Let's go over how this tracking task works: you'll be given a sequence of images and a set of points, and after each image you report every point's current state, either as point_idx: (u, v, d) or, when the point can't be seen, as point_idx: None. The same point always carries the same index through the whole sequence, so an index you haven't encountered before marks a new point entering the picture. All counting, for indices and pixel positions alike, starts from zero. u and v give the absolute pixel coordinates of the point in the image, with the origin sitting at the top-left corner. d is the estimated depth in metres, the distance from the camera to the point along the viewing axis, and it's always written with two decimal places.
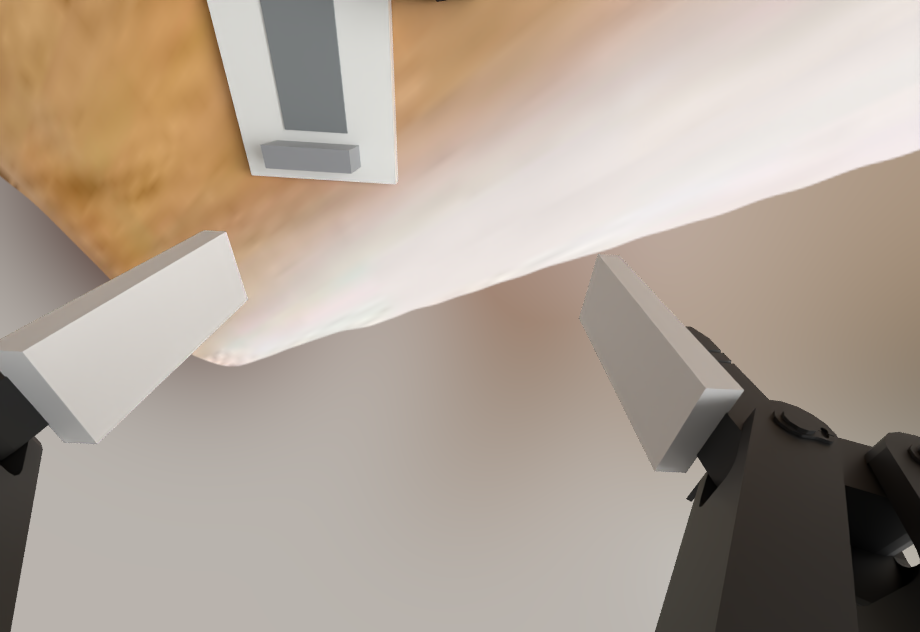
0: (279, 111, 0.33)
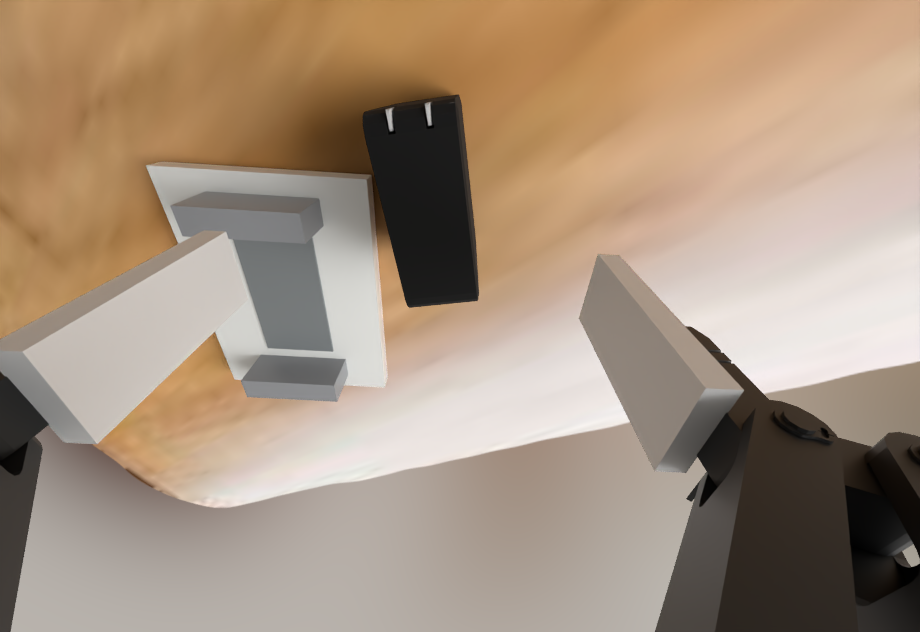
0: (261, 334, 0.31)
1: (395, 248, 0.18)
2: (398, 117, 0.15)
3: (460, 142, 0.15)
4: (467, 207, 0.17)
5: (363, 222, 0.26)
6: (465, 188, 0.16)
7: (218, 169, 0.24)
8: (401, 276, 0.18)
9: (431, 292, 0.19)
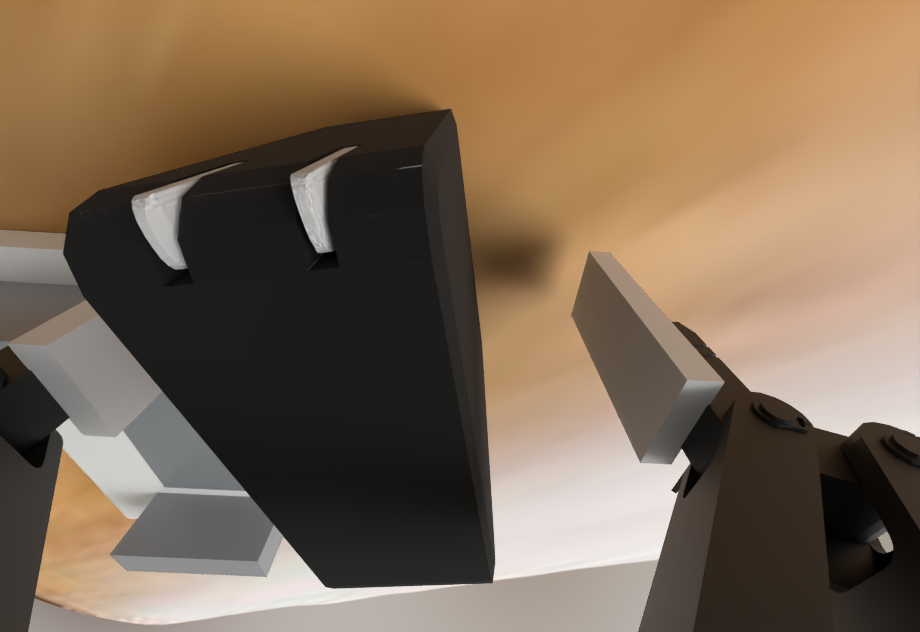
0: (151, 470, 0.20)
1: (279, 522, 0.07)
2: (198, 223, 0.04)
3: (446, 304, 0.04)
4: (470, 453, 0.06)
5: None
6: (464, 416, 0.05)
7: (9, 244, 0.13)
8: (307, 560, 0.08)
9: (384, 579, 0.08)
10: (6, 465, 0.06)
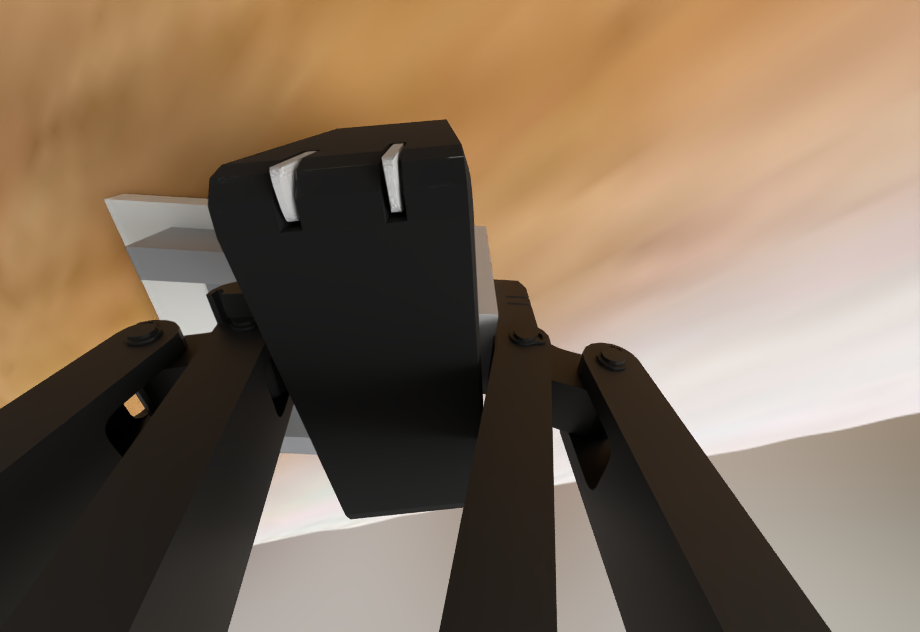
0: None
1: (319, 445, 0.08)
2: (309, 188, 0.05)
3: (473, 252, 0.06)
4: (479, 375, 0.07)
5: None
6: (477, 342, 0.07)
7: (185, 203, 0.21)
8: (335, 485, 0.09)
9: (397, 504, 0.10)
10: (265, 413, 0.07)
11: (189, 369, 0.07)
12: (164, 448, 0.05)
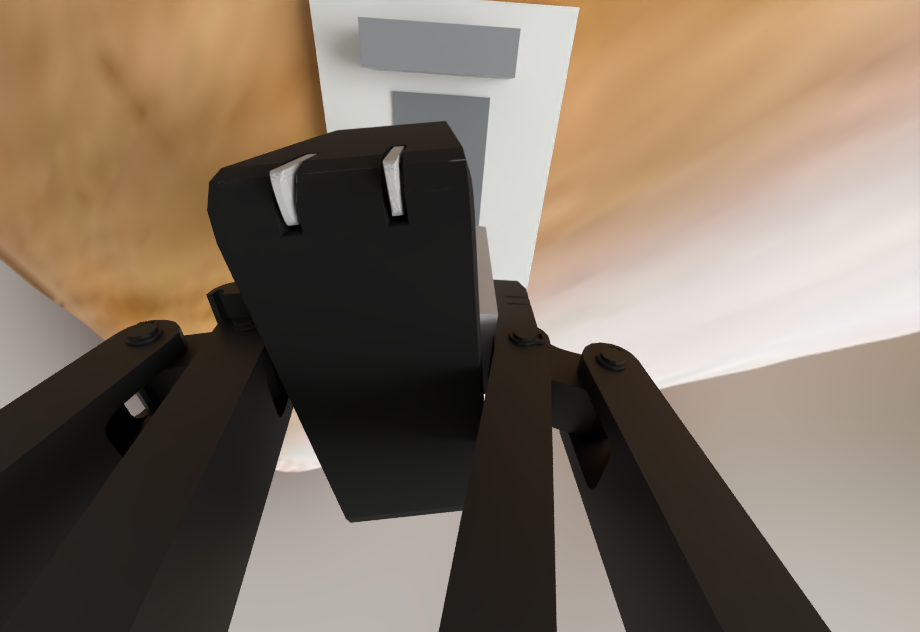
0: None
1: (320, 449, 0.08)
2: (310, 192, 0.05)
3: (474, 255, 0.06)
4: (480, 378, 0.07)
5: (558, 74, 0.21)
6: (479, 346, 0.07)
7: None
8: (336, 488, 0.09)
9: (398, 507, 0.10)
10: (265, 412, 0.07)
11: (190, 369, 0.07)
12: (164, 448, 0.05)
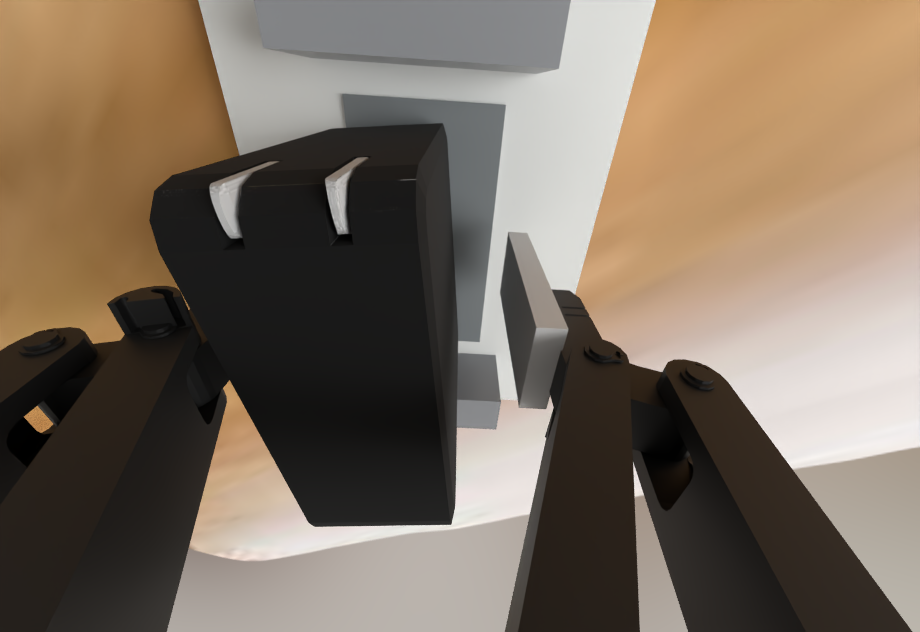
0: None
1: (278, 456, 0.08)
2: (253, 206, 0.05)
3: (426, 278, 0.06)
4: (438, 400, 0.07)
5: (623, 64, 0.12)
6: (435, 368, 0.07)
7: None
8: (297, 494, 0.09)
9: (360, 517, 0.10)
10: (189, 420, 0.07)
11: (94, 384, 0.06)
12: (69, 464, 0.05)
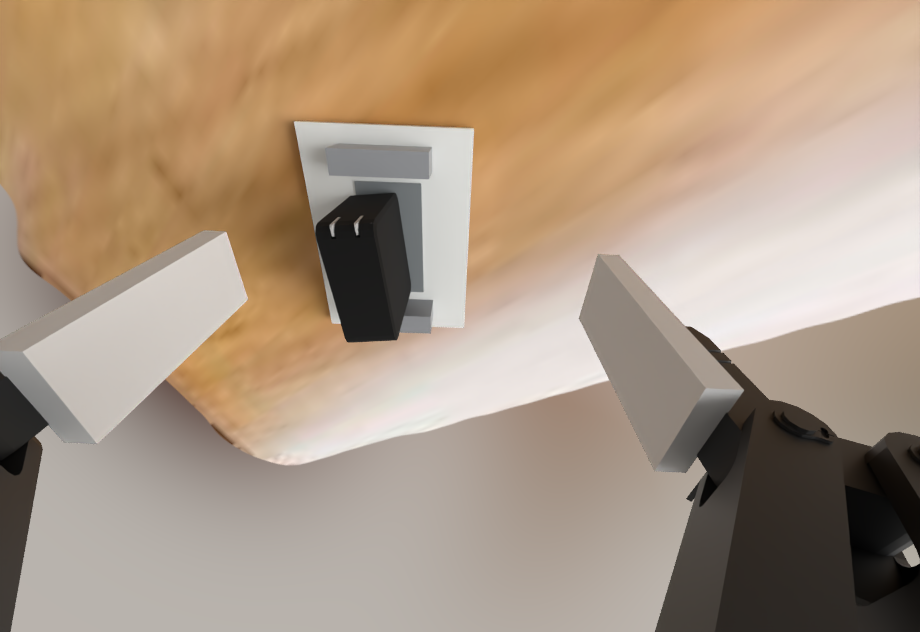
0: None
1: (337, 304, 0.26)
2: (337, 229, 0.23)
3: (377, 245, 0.24)
4: (384, 282, 0.25)
5: (466, 168, 0.31)
6: (382, 271, 0.25)
7: (352, 123, 0.29)
8: (341, 322, 0.27)
9: (362, 334, 0.28)
10: None
11: None
12: None
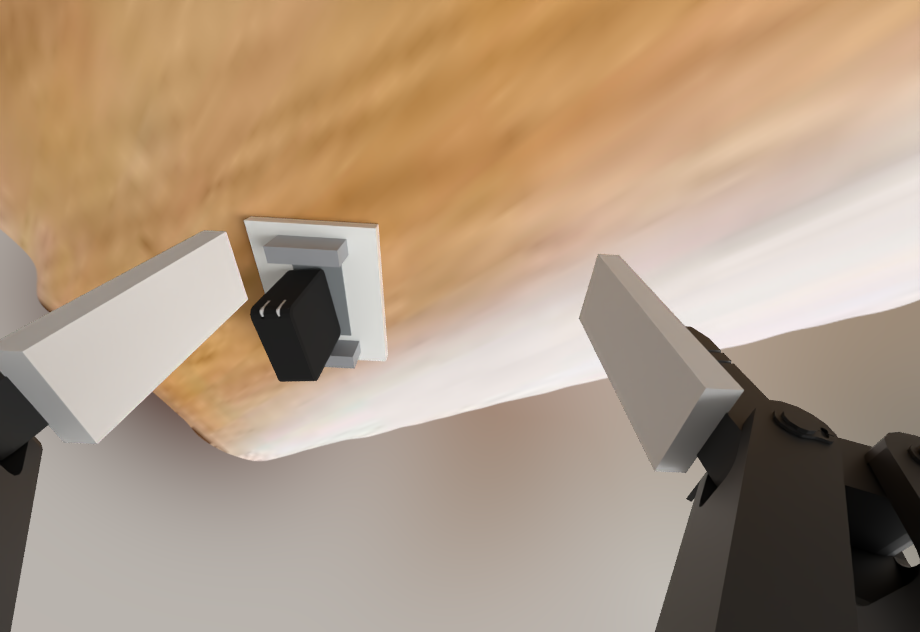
0: None
1: (270, 358, 0.37)
2: (265, 312, 0.34)
3: (293, 322, 0.35)
4: (301, 345, 0.36)
5: (373, 253, 0.41)
6: (299, 338, 0.36)
7: (286, 222, 0.40)
8: (274, 369, 0.38)
9: (290, 377, 0.39)
10: None
11: None
12: None
